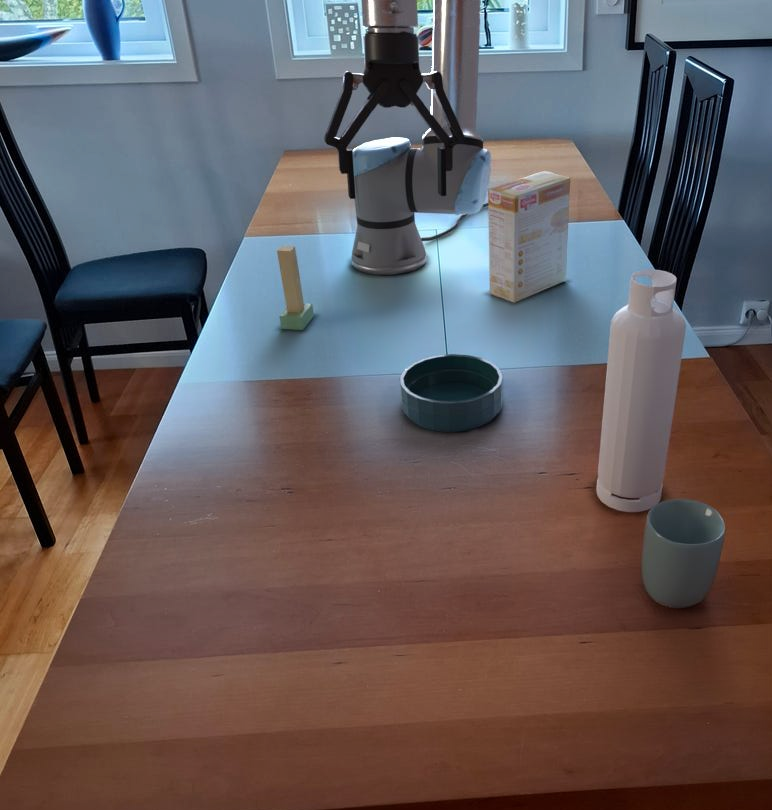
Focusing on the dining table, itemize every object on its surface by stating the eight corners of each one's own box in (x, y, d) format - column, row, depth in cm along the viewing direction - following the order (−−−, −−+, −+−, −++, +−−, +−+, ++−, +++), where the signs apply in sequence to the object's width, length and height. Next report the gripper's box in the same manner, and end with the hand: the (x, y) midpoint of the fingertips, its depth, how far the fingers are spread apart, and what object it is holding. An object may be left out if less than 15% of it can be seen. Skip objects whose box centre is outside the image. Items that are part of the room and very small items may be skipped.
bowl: (414, 380, 126) (412, 351, 123) (508, 386, 124) (508, 357, 121) (391, 430, 115) (388, 399, 112) (494, 437, 113) (494, 406, 110)
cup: (629, 572, 90) (638, 500, 84) (697, 567, 90) (711, 495, 84) (646, 622, 84) (658, 548, 78) (720, 616, 84) (737, 543, 78)
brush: (293, 315, 147) (280, 241, 139) (314, 316, 146) (303, 242, 138) (281, 329, 142) (268, 254, 134) (303, 330, 142) (291, 255, 134)
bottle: (620, 519, 98) (645, 298, 81) (583, 485, 103) (599, 272, 86) (674, 500, 101) (709, 283, 84) (635, 468, 106) (660, 259, 89)
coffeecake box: (540, 272, 162) (543, 169, 150) (567, 281, 158) (572, 177, 146) (487, 293, 154) (486, 187, 142) (514, 303, 149) (515, 195, 138)
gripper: (299, 29, 105) (314, 202, 115) (485, 32, 110) (484, 197, 120) (296, 30, 111) (311, 194, 122) (473, 32, 116) (472, 189, 127)
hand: (397, 196), depth 121 cm, fingers open, 13 cm apart
